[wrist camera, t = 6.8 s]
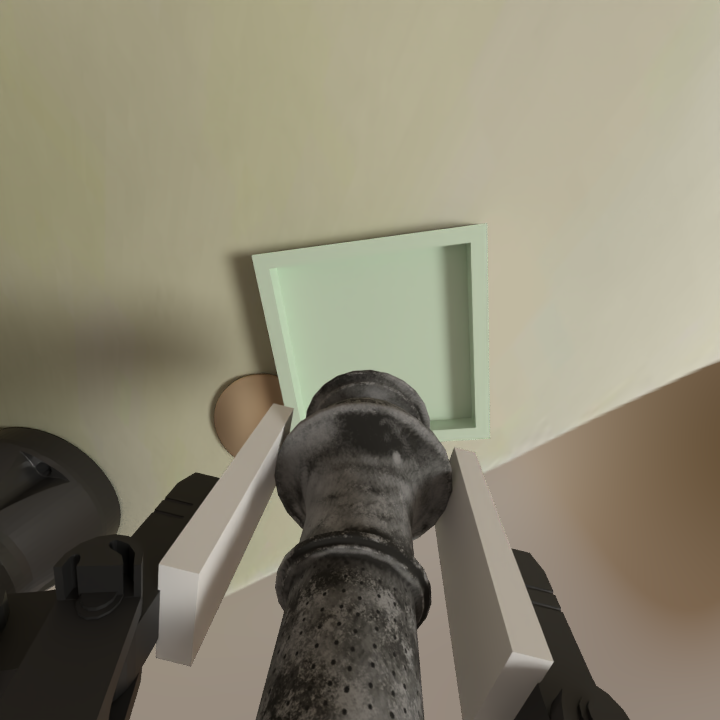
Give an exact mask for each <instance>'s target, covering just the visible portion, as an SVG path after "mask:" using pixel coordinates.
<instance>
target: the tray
mask: <svg viewBox="0 0 720 720" xmlns="http://www.w3.org/2000/svg"><path fill="white" fill-rule="evenodd" d="M252 260H253V265H254V269H255V274H256V278H257V283H258V287H259V292H260V297H261V301H262V306H263V310H264V315H265V320H266V324H267V329H268V333H269V338H270V342H271V347H272V352H273V356H274V361H275V365H276V370H277V374H278V379H279V384H280V388H281V393H282V397H283V402H284V406H286V407H291V408H294V411H293V417H292V422H291V428H290V432H291V431H292V430H293V429H294V428H295V427H296V425H297V424H298V423H299V422H300V421H302V420H304V419H305V418H306V412H307V409H308V407H309V405H310V402H311V400H312V398H313V396H314V395H315V394H316V393H317V391H318V390H319V389H320V388H321V387H322V386H323V385H324V384H325V383H327V382H328V381H330V380H332V379H333V378H335V377H336V376H338V375H341V374H345V373H348V372H351V371H358V370H374V371H380V372H385V373H389V374H391V375H393V376H395V377H397V378H399V379H402V380H403V381H405V382H406V383H407V384H408V385H410V386H411V387H412V388H413V389H414V390H416V392H417V393H418V395H419V396H420V397H421V399H422V400H423V402H424V403H425V406H426V409H427V412H428V415H429V418H430V430H431V431H433V433H434V434H435V436H436V437H437V438H438V440H439V441H440V442H445V441H460V440H476V439H490V394H489V317H488V239H487V223H484V224H476V225H469V226H461V227H454V228H447V229H439V230H432V231H425V232H417V233H410V234H403V235H395V236H388V237H381V238H373V239H366V240H359V241H351V242H344V243H337V244H329V245H322V246H315V247H307V248H300V249H293V250H285V251H278V252H271V253H263V254H256V255H252Z"/></svg>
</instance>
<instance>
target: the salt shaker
mask: <svg viewBox="0 0 720 720" xmlns="http://www.w3.org/2000/svg"><path fill="white" fill-rule="evenodd" d="M274 477H275V482H276V487H277V492H278V496H279V498H280V500H281V501H282V503H283V505H284V507H285V509H286V511H287V513H288V514H289V515H290V516H291V517H292V518H293V519H294V520H295V521H296V522H297V524H298V525H299V526H300V527H301V528H302V529H303V531H302V534H301V538H300V542H299V544H297V545H296V546H295V547H294V548H293V549H292V550H291V551H290V552H288V553H287V554H286V555H285V557H284V559H283V561H282V563H281V565H280V566H279V568H278V571H277V576H276V585H275V589H276V593H277V597H278V602H279V604H280V605H281V607H282V609H283V610H284V614H283V618H282V622H281V626H280V630H279V634H278V637H277V641H276V645H275V649H274V653H273V656H272V660H271V664H270V668H269V671H268V675H267V679H266V683H265V687H264V690H263V694H262V698H261V702H260V706H259V709H258V713H257V717H256V720H424V710H423V698H422V686H421V674H420V662H419V650H418V638H417V629H418V628H419V626H420V625H421V624H422V623H423V621H424V620H425V619H426V617H427V615H428V611H429V608H430V605H431V586H430V583H429V580H428V578H427V575H426V573H425V571H424V569H423V567H422V566H421V565H420V564H419V562H418V561H417V560H416V559H415V558H414V551H413V540H415V539H417V538H419V537H420V536H421V535H422V534H424V533H425V532H426V531H427V530H429V529H430V528H431V527H432V526H434V525H435V524H436V522H437V521H438V519H439V518H440V517H441V515H442V514H443V512H444V511H445V509H446V507H447V504H448V501H449V498H450V495H451V493H452V468H451V465H450V462H449V459H448V456H447V453H446V450H445V448H444V447H443V446H442V444H441V443H440V441H439V440H438V438H437V437H436V436H435V434H434V433H433V431H431V430H430V418H429V415H428V412H427V409H426V406H425V403H424V402H423V400H422V399H421V397H420V396H419V395H418V393H417V392H416V390H414V389H413V388H412V387H411V386H410V385H408V384H407V383H406V382H405V381H403V380H402V379H399V378H397V377H395V376H393V375H391V374H389V373H385V372H380V371H374V370H358V371H351V372H348V373H345V374H341V375H338V376H336V377H335V378H333V379H332V380H330V381H328V382H327V383H325V384H324V385H323V386H322V387H321V388H320V389H319V390H318V391H317V393H316V394H315V395H314V396H313V398H312V400H311V402H310V405H309V407H308V409H307V412H306V418H305V419H304V420H302V421H300V422H299V423H298V424H297V425H296V427H295V428H294V429H293V430H292V431H291V432H290V433H289V434H288V435H287V436H286V438H285V440H284V442H283V444H282V446H281V449H280V451H279V453H278V457H277V462H276V469H275V475H274Z"/></svg>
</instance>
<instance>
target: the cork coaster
mask: <svg viewBox="0 0 720 720" xmlns="http://www.w3.org/2000/svg"><path fill="white" fill-rule="evenodd" d="M273 403H274V404H278V405H282V406H284V402H283V397H282V393H281V388H280V384H279V379H278V376H277V375H272V374H253V375H248V376H245V377H242V378H240V379H238V380H236V381H235V382H233V383H232V384H231V385H230V386H229V387H227V388H226V389H225V390H224V392H223V393H222V394H221V395H220V397H219V399H218V401H217V404H216V407H215V411H214V424H215V428H216V432H217V434H218V437H219V439H220V441H221V442H222V444H223V445H224V447H225V448H226V449H227V450H228V452H229V453H230V454H231V455H233V456H234V457H235V456H236V455H237V454H238V452H239V451H240V449H241V448H242V447H243V445H244V444H245V442H246V441H247V440H248V438H249V437H250V435H251V434H252V432H253V431H254V430H255V428H256V427H257V425H258V424H259V423H260V421H261V420H262V418H263V417H264V416H265V414H266V413H267V411H268V410H269V409H270V407H271V406H272V404H273Z"/></svg>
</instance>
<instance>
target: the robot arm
mask: <svg viewBox="0 0 720 720" xmlns="http://www.w3.org/2000/svg"><path fill="white" fill-rule="evenodd" d="M293 411H294V408H291V407H286V406H282V405H278V404H274V403H273V404H272V406H271V407H270V409H269V410H268V411H267V413H266V414H265V416H264V417H263V418H262V420H261V421H260V423H259V424H258V425H257V427H256V428H255V430H254V431H253V432H252V434H251V435H250V437H249V438H248V440H247V441H246V442H245V444H244V445H243V447H242V448H241V449H240V451H239V452H238V454H237V455H236V456H235V458H234V459H233V461H232V462H231V463H230V465H229V466H228V468H227V469H226V470H225V472H224V473H223V475H222V476H221V477H220V478H217V477H213V476H209V475H205V474H200V473H194V474H192V475H191V476H189V477H187V478H185V479H184V480H182V481H180V482H179V483H177V485H176V486H175V487H174V488H173V489H172V490H171V492H170V493H169V494H168V495H167V496H166V498H165V500H163V501H162V502H161V503H160V504H159V505H158V507H157V508H156V509H155V511H154V513H151V515H150V516H149V517H148V518H147V519H146V520H145V521H144V523H143V524H142V525H141V526H140V527H139V528H138V530H137V531H136V532H135V533H134V534H133V535H132V536H131V537H129V536H124V535H117V534H116V533H117V531H118V528H119V525H120V517H121V514H120V505H119V501H118V498H117V495H116V492H115V490H114V488H113V486H112V484H111V483H110V481H109V479H108V478H107V476H106V475H105V474H104V472H103V471H102V470H101V469H100V468H99V467H98V465H97V464H96V463H95V462H94V461H93V460H92V459H90V458H89V457H88V456H87V455H86V454H85V453H83V452H82V451H81V450H79V449H78V448H76V447H75V446H73V445H72V444H70V443H68V442H66V441H65V440H63V439H61V438H58V437H56V436H54V435H51V434H48V433H45V432H42V431H38V430H34V429H27V428H8V429H2V430H0V720H129V719H130V716H131V712H132V709H133V706H134V702H135V699H136V696H137V692H138V689H139V685H140V682H141V673H142V666H143V664H144V663H145V661H146V659H147V658H148V656H149V654H150V652H151V650H152V649H153V647H154V645H155V643H156V658H159V659H163V660H167V661H171V662H175V663H179V664H183V665H187V666H191V665H192V663H193V661H194V659H195V657H196V655H197V653H198V650H199V648H200V646H201V644H202V642H203V640H204V638H205V636H206V633H207V631H208V629H209V627H210V625H211V623H212V621H213V618H214V616H215V614H216V612H217V610H218V608H219V606H220V603H221V601H222V599H223V597H224V595H225V593H226V591H227V589H228V586H229V584H230V582H231V580H232V578H233V576H234V574H235V572H236V569H237V567H238V565H239V563H240V561H241V559H242V557H243V554H244V552H245V550H246V548H247V546H248V544H249V542H250V540H251V537H252V535H253V533H254V531H255V529H256V527H257V525H258V522H259V520H260V518H261V516H262V514H263V512H264V510H265V508H266V505H267V503H268V501H269V499H270V497H271V495H272V493H273V490H274V488H275V486H276V482H275V477H274V475H275V469H276V462H277V457H278V453H279V451H280V449H281V446H282V444H283V442H284V440H285V438H286V436H287V435H288V434H289V433H290V428H291V422H292V417H293ZM449 462H450V465H451V468H452V493H451V495H450V498H449V501H448V504H447V507H446V509H445V511H444V512H443V514H442V515H441V517H440V518H439V519H438V521H437V522H436V524H435V529H436V536H437V543H438V551H439V558H440V565H441V571H442V579H443V585H444V593H445V600H446V607H447V613H448V621H449V628H450V635H451V641H452V649H453V656H454V663H455V670H456V677H457V683H458V692H459V698H460V705H461V713H462V719H463V720H630V719H629V718H628V716H627V715H626V713H625V712H624V710H623V709H622V708H621V707H620V706H619V705H618V704H617V703H616V702H615V701H614V700H613V699H612V698H611V696H610V695H609V694H607V693H606V692H604V691H603V690H602V689H600V688H599V687H597V686H596V684H595V682H594V681H593V679H592V676H591V674H590V672H589V670H588V668H587V665H586V663H585V661H584V659H583V656H582V654H581V652H580V650H579V647H578V645H577V643H576V641H575V639H574V636H573V634H572V632H571V630H570V627H569V625H568V623H567V621H566V618H565V616H564V614H563V612H561V607H560V605H559V603H558V601H557V598H556V596H555V595H553V590H552V587H551V585H550V583H549V581H548V578H547V576H546V574H545V572H544V570H543V569H542V568H541V567H540V565H539V564H538V563H537V562H536V560H535V559H534V558H533V557H532V555H531V554H530V553H528V552H524V551H519V550H516V549H511V546H510V544H509V541H508V538H507V536H506V533H505V530H504V528H503V525H502V522H501V520H500V517H499V515H498V512H497V509H496V507H495V504H494V501H493V498H492V496H491V493H490V490H489V488H488V485H487V482H486V480H485V477H484V474H483V472H482V469H481V466H480V464H479V461H478V458H477V456H476V453H475V452H472V451H468V450H464V449H459V448H455V447H454V450H453V452H452V455H451V458H450V460H449ZM54 585H55V588H56V590H50V591H47V590H48V589H50V588H51V587H53V586H54Z"/></svg>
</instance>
